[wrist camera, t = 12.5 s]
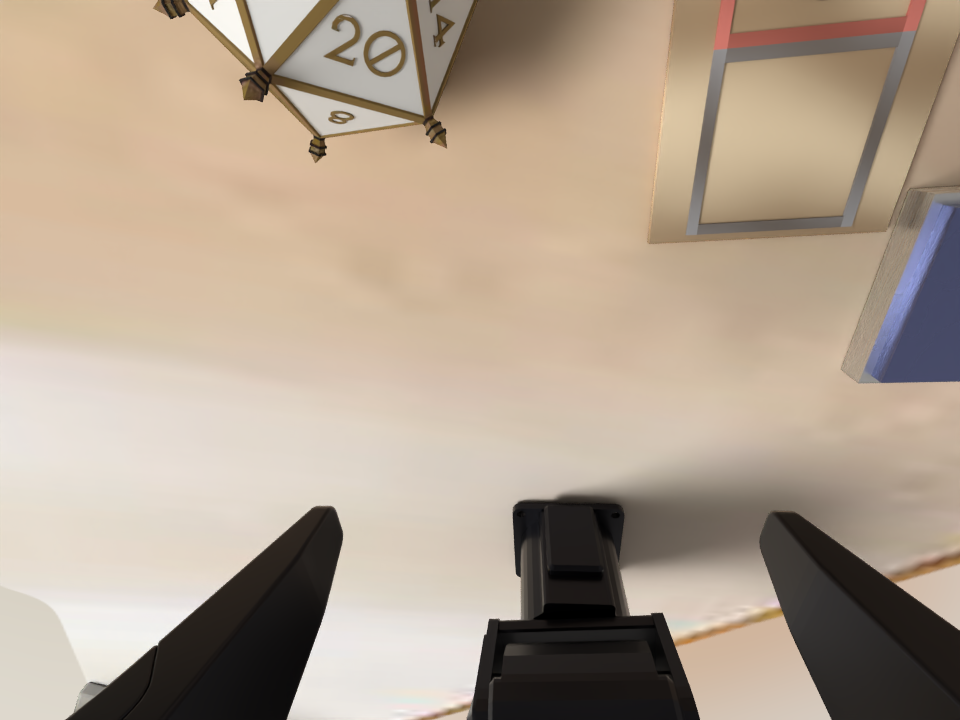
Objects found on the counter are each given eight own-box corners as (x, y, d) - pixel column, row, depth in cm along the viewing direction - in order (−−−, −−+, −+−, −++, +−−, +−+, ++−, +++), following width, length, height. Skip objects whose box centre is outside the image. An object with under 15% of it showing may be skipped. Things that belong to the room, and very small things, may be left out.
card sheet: (880, 229, 17) (887, 232, 17) (647, 242, 18) (649, 244, 18) (1068, -288, 11) (1086, -301, 11) (699, -229, 12) (705, -239, 12)
